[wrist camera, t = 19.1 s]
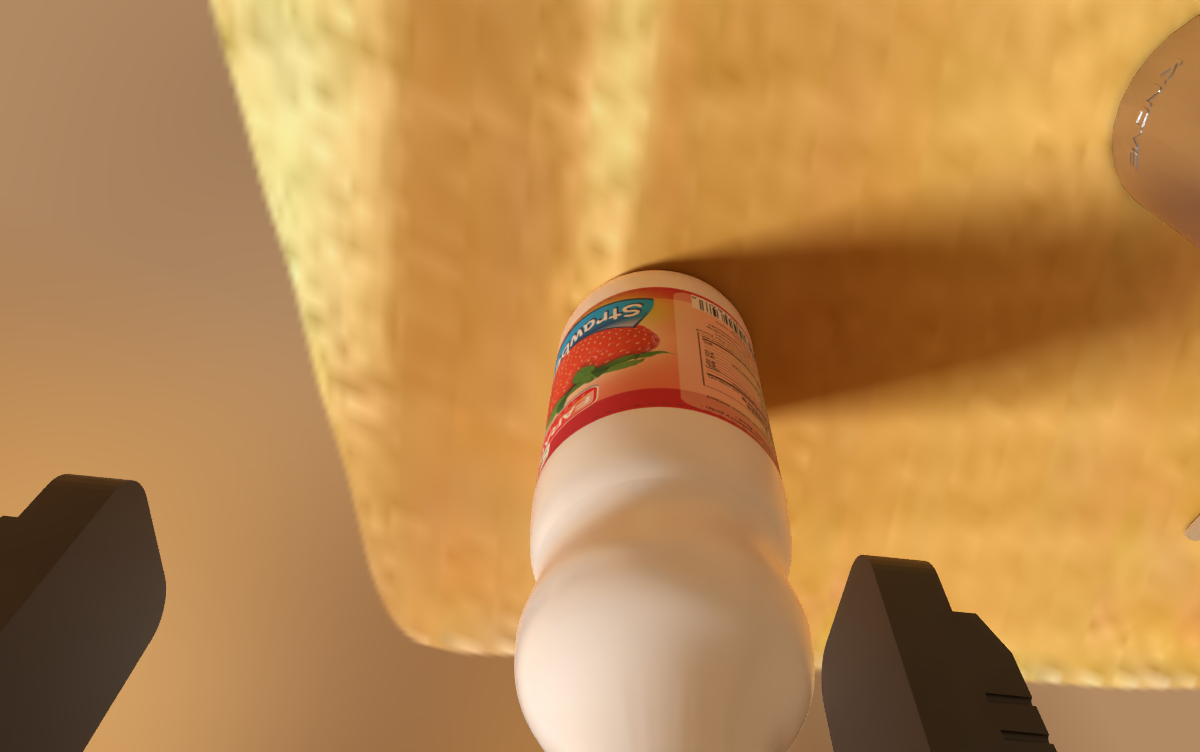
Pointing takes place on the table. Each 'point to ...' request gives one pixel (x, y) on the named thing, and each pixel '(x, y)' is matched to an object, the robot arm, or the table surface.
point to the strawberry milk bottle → (661, 537)
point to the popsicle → (1194, 530)
